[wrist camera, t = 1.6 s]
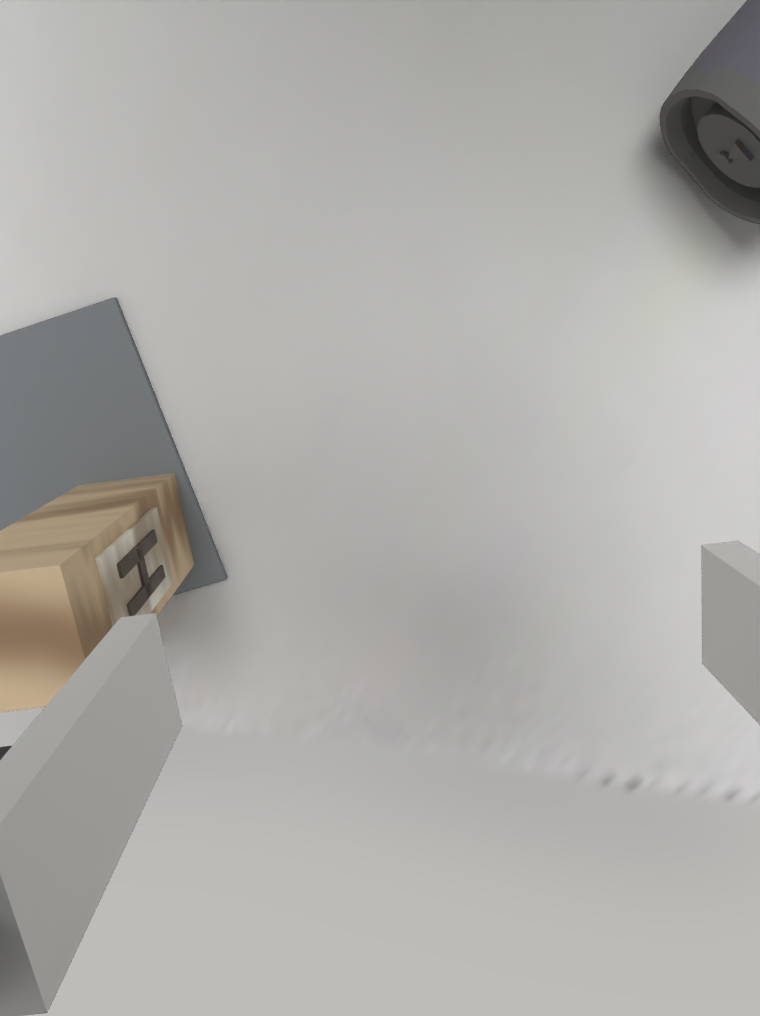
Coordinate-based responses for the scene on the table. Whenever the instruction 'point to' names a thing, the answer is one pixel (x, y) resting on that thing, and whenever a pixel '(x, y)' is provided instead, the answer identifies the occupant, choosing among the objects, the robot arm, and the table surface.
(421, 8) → the table surface
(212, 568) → the mat
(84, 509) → the letter block
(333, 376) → the table surface
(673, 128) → the bluetooth speaker
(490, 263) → the table surface
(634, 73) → the table surface
